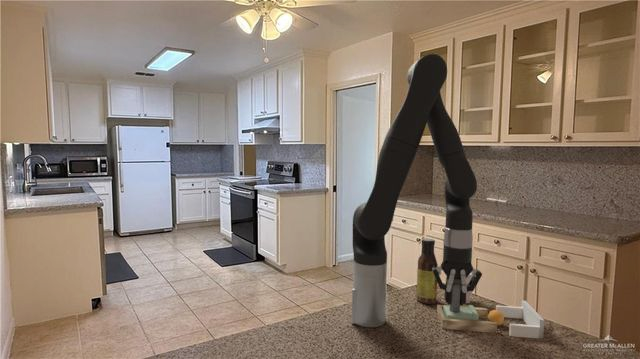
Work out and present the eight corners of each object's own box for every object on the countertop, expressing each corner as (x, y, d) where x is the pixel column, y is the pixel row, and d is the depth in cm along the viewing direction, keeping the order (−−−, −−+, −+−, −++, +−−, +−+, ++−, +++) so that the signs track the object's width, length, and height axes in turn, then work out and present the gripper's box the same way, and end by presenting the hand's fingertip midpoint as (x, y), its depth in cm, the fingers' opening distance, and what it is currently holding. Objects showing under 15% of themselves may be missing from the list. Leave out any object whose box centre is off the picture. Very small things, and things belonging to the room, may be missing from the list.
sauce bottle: (439, 304, 123) (441, 242, 121) (419, 304, 123) (421, 242, 121) (433, 296, 129) (435, 237, 127) (414, 296, 129) (416, 237, 127)
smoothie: (476, 305, 122) (478, 261, 121) (454, 303, 124) (456, 260, 122) (472, 298, 129) (474, 256, 127) (452, 296, 130) (454, 254, 129)
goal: (510, 336, 103) (511, 317, 102) (495, 315, 116) (496, 298, 115) (542, 338, 102) (544, 320, 101) (524, 317, 115) (525, 300, 114)
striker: (447, 325, 108) (449, 281, 107) (443, 315, 115) (444, 273, 114) (478, 328, 107) (480, 283, 106) (472, 317, 114) (474, 274, 113)
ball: (490, 327, 108) (491, 313, 108) (486, 320, 112) (487, 307, 111) (505, 328, 107) (506, 314, 107) (501, 321, 111) (501, 308, 111)
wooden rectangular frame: (442, 328, 107) (442, 319, 106) (436, 312, 117) (437, 304, 117) (496, 332, 105) (497, 324, 104) (486, 316, 115) (486, 308, 115)
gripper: (433, 246, 107) (431, 307, 108) (488, 248, 105) (484, 311, 106) (430, 239, 114) (427, 297, 115) (480, 242, 112) (477, 300, 113)
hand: (455, 303), depth 111 cm, fingers closed on striker, 3 cm apart
